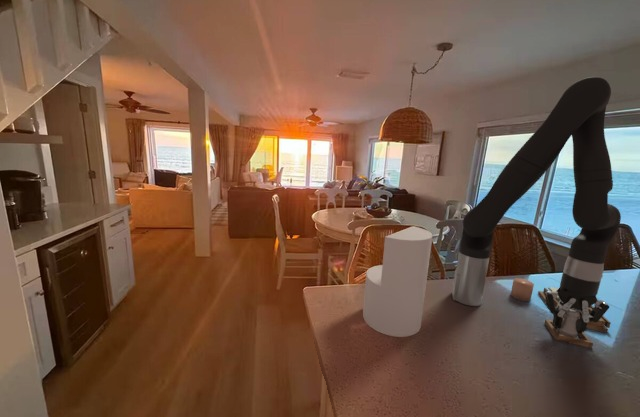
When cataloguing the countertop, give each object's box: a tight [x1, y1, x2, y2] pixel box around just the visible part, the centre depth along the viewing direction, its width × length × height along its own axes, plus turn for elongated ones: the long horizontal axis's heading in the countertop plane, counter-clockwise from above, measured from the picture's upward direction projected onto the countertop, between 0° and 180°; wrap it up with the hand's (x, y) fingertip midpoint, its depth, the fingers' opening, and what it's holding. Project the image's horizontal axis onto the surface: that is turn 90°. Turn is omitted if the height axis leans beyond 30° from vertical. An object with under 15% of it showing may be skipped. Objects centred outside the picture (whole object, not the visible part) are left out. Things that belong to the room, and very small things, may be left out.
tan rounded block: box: [510, 277, 535, 302], centre depth 98 cm, size 6×6×6 cm
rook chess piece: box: [556, 308, 580, 338], centre depth 76 cm, size 4×4×8 cm
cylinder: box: [362, 225, 433, 338], centre depth 79 cm, size 17×17×28 cm
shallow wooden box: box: [537, 287, 611, 334], centre depth 89 cm, size 12×20×3 cm, turn 157°
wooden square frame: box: [544, 318, 594, 349], centre depth 77 cm, size 8×8×2 cm
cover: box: [547, 286, 560, 300], centre depth 92 cm, size 8×8×4 cm
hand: (567, 328), depth 76 cm, fingers closed on rook chess piece, 4 cm apart
